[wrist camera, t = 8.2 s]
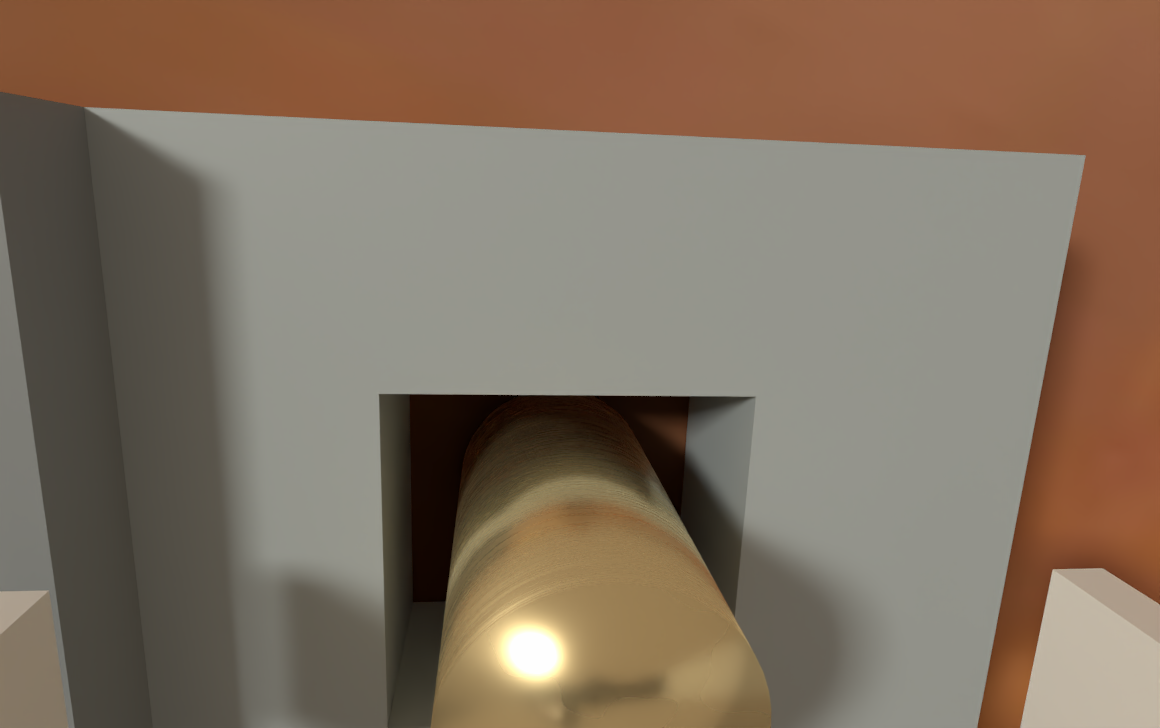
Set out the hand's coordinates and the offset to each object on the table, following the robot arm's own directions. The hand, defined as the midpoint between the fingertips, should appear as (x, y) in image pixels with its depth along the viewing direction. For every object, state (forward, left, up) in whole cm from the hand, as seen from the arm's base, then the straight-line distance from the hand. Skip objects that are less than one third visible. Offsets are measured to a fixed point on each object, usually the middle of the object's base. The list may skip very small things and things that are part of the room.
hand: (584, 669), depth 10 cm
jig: (0, 0, -7) cm, 7 cm away
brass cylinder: (0, 0, -7) cm, 7 cm away
